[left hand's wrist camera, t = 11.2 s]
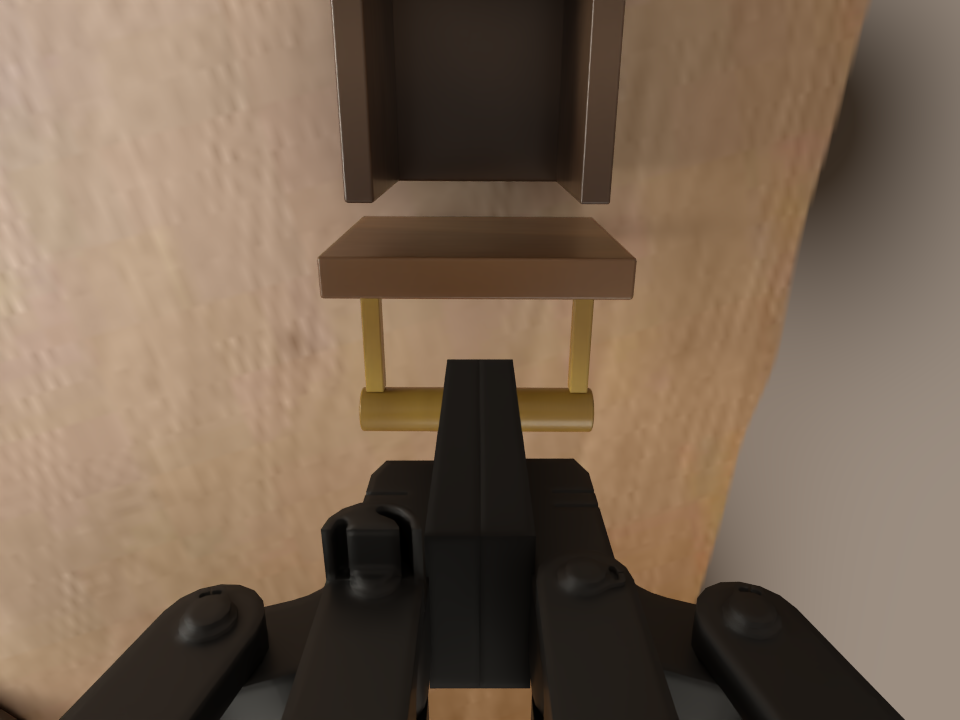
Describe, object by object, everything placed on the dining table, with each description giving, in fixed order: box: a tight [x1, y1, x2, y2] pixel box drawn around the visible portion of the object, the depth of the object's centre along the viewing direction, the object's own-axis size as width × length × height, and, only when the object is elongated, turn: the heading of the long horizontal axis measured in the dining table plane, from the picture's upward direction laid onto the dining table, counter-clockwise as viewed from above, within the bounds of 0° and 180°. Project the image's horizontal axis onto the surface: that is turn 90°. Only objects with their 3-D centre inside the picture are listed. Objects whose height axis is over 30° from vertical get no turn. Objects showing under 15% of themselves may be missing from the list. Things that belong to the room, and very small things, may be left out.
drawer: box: [317, 0, 637, 432], centre depth 19 cm, size 22×9×7 cm, turn 0°
